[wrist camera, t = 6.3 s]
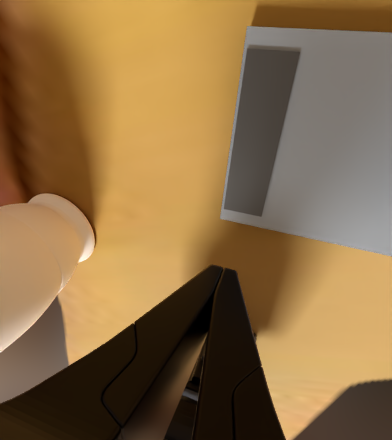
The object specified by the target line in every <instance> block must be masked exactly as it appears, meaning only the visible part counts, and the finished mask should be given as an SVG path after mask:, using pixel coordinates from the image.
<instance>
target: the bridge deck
mask: <svg viewBox="0 0 392 440" xmlns="http://www.w3.org/2000/svg"><path fill="white" fill-rule="evenodd" d="M220 219H223V220H228V221H232V222H237V223H242V224H246V225H251V226H255V227H260V228H264V229H269V230H274V231H278V232H283V233H287V234H292V235H296V236H301V237H306V238H310V239H315V240H319V241H324V242H328V243H333V244H338V245H342V246H347V247H351V248H356V249H361V250H365V251H370V252H374V253H379V254H383V255H388V256H392V33H390V32H367V31H344V30H322V29H299V28H277V27H254V26H247V31H246V38H245V45H244V52H243V59H242V66H241V73H240V80H239V88H238V95H237V102H236V109H235V116H234V123H233V130H232V137H231V144H230V151H229V159H228V166H227V173H226V180H225V187H224V194H223V201H222V208H221V215H220Z"/></svg>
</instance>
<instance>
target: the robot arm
mask: <svg viewBox="0 0 392 440" xmlns="http://www.w3.org/2000/svg"><path fill="white" fill-rule="evenodd" d="M134 324H135V325H134ZM134 324H133V323H132V324H131V325H130V326H128V327H127V328H126V329H124V330H123V331H122V332H120V333H119V334H117V335H116V336H115V337H113V338H112V339H110V340H109V341H107V342H106V343H105V344H103V345H101V346H100V347H98V348H97V349H95V350H94V351H92V352H91V353H89V354H87V355H86V356H84V357H83V358H81V359H79V360H78V361H76V362H74V363H73V364H71V365H69V366H68V367H66V368H64V369H63V370H61V371H59V372H58V373H56V374H55V375H53V376H51V377H50V378H48V379H47V380H45V381H43V382H41V383H40V384H38V385H36V386H35V387H33V388H31V389H30V390H28V391H26V392H24V393H22V394H20V395H19V396H16V397H15V398H12V399H10V400H7V401H5V402H3V403H0V440H286V438H285V436H284V433H283V430H282V428H281V425H280V422H279V419H278V417H277V414H276V411H275V408H274V405H273V402H272V399H271V395H270V392H269V389H268V385H267V382H266V378H265V375H264V371H263V368H262V367H261V366H262V364H261V360H260V357H259V353H258V349H257V345H256V334H254V333H253V331H252V327H251V323H250V319H249V316H248V312H247V308H246V305H245V301H244V297H243V293H242V290H241V286H240V282H239V279H238V275H237V272H236V271H235V270H232V269H228V268H224V269H223V268H222V267H220V266H216V265H210V266H208V267H207V268H206V269H204V270H203V271H202V272H200V273H199V274H198V275H196V276H195V277H194V278H192V279H191V280H190V281H188V282H187V283H186V284H184V285H183V286H182V287H180V288H179V289H178V290H176V291H175V292H174V293H172V294H171V295H170V296H168V297H167V298H166V299H164V300H163V301H162V302H160V303H159V304H158V305H156V306H155V307H154V308H152V309H151V310H150V311H148V312H147V313H146V314H144V315H143V316H142V317H140V318H139V319H138V320H136V321H135V323H134Z"/></svg>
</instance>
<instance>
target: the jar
mask: <svg viewBox="0 0 392 440" xmlns="http://www.w3.org/2000/svg"><path fill="white" fill-rule="evenodd" d="M94 246H95V238H94V233H93V230H92V227H91V225H90V223H89V221H88V220H87V218H86V217H85V215H84V214H83V213H82V212H81V211H80V210H79V209H78V208H77V207H76V206H75V205H74V204H72V203H71V202H70V201H68V200H66V199H65V198H63V197H60V196H58V195H55V194H49V193H44V194H39V195H36V196H34V197H33V198H32V199H31V200H30V201H29V202H28V203H22V204H11V205H6V206H1V207H0V352H1V351H3V350H4V349H5V348H7V347H8V346H9V345H10V344H11V343H13V342H14V341H15V340H16V339H18V338H19V337H20V336H21V335H22V334H23V333H24V332H25V331H26V330H28V329H29V328H30V327H31V326H32V325H33V324H34V323H35V322H36V321H37V320H38V318H39V317H40V316H41V315H42V314H43V313H44V312H45V310H46V309H47V308H48V307H49V305H50V304H51V303H52V301H53V300H54V298H55V297H56V295H57V294H58V293H59V292H60V291H61V290H62V289H63V288H64V286H65V285H66V284H67V282H68V281H69V280H70V278H71V277H72V275H73V273H74V271H75V269H76V267H77V265H78V262H82V261H84V260H86V259H87V258H88V257H90V255H91V254H92V252H93V250H94Z"/></svg>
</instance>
